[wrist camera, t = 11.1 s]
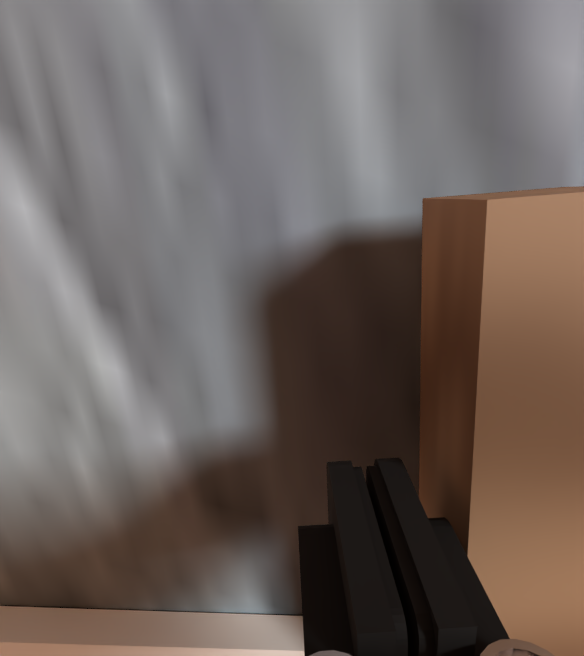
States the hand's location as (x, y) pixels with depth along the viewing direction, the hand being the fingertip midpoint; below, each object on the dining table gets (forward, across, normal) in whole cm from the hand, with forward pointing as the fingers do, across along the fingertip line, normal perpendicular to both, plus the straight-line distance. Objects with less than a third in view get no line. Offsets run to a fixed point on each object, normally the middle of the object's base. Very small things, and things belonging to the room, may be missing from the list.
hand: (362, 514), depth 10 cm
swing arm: (+1, -3, +5) cm, 6 cm away
